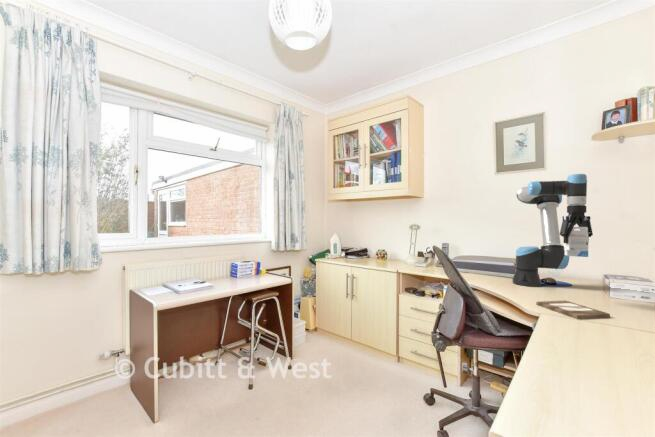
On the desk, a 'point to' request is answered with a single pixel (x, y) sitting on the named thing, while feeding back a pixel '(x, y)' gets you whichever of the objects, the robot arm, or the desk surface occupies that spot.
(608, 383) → the desk surface
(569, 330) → the desk surface
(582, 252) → the ink box
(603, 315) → the stand board
